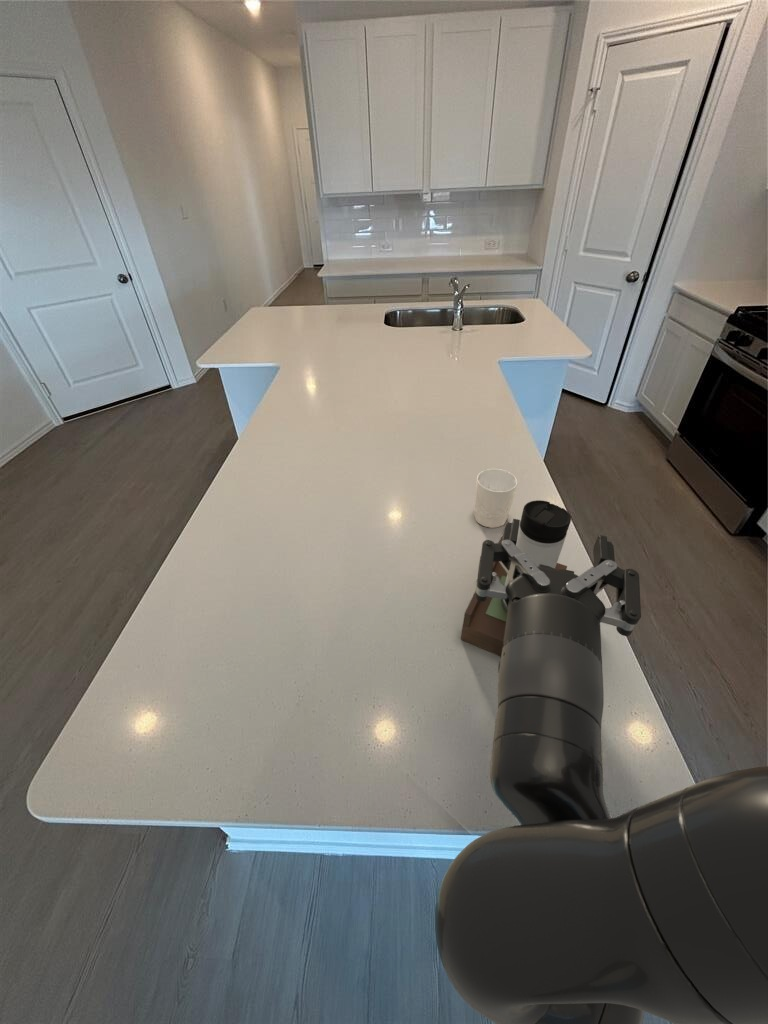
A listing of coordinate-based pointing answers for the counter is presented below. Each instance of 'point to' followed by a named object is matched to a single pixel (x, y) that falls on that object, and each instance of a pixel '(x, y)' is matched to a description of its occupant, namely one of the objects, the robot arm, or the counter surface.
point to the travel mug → (542, 533)
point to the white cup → (494, 497)
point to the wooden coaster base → (488, 618)
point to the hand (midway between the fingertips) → (556, 532)
